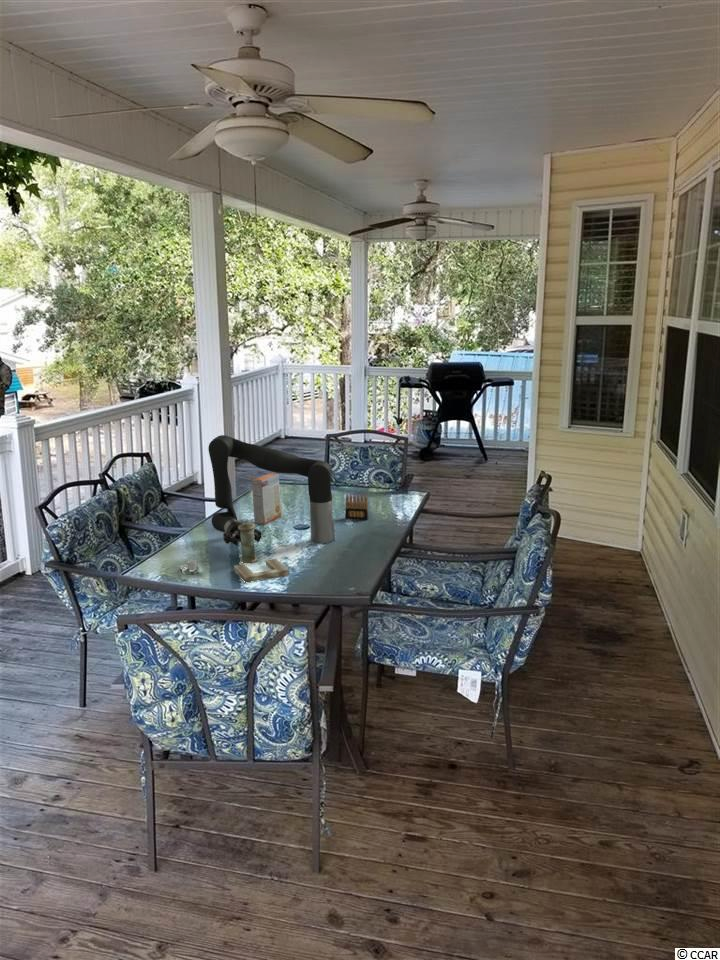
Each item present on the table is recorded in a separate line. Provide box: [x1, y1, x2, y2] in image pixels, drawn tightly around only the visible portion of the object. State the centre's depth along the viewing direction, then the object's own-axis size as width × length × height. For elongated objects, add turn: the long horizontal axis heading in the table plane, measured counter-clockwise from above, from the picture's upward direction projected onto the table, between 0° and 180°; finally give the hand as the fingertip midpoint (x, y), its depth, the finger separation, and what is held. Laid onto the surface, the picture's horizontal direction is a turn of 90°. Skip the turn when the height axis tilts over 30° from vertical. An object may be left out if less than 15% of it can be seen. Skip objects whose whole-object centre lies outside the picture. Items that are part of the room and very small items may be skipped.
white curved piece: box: [178, 559, 199, 571], centre depth 260 cm, size 9×8×4 cm
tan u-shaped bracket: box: [233, 558, 290, 584], centre depth 257 cm, size 16×14×2 cm
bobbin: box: [238, 523, 258, 564], centre depth 269 cm, size 6×6×14 cm
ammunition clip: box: [344, 493, 369, 521], centre depth 323 cm, size 11×2×12 cm, turn 76°
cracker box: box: [251, 472, 282, 525], centre depth 322 cm, size 14×6×21 cm, turn 152°
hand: (247, 541), depth 268 cm, fingers open, 8 cm apart
